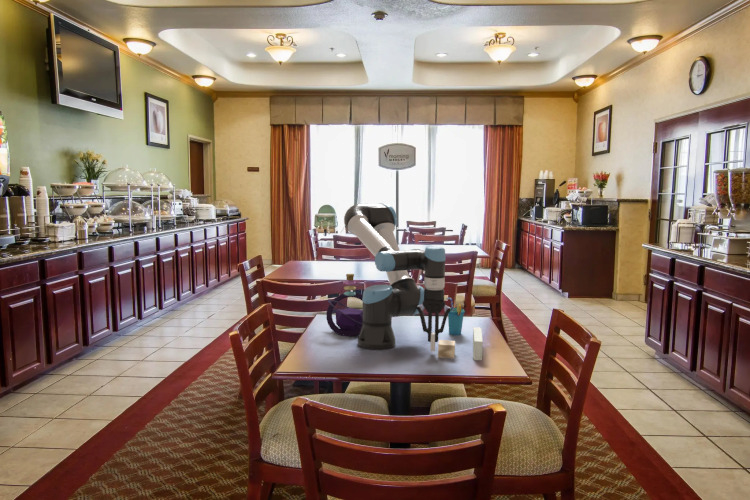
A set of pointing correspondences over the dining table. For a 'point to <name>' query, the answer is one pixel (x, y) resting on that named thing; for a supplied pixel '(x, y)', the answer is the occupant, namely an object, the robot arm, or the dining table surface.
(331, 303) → the decorative bottle
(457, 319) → the cup
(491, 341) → the dining table surface
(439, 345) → the birch block
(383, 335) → the robot arm
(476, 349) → the board
